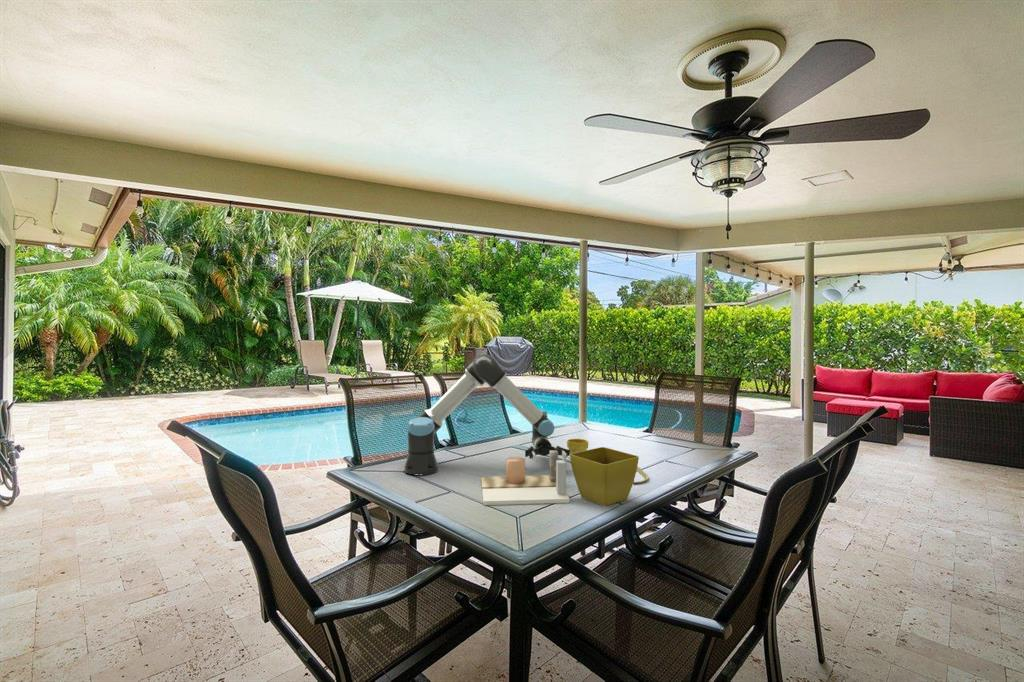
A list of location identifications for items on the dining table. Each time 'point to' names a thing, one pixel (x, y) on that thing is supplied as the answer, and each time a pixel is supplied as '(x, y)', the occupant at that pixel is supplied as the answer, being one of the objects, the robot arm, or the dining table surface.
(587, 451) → the flower pot
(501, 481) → the oak runner
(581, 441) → the plant pot
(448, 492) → the dining table surface
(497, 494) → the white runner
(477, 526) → the dining table surface
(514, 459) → the tan rounded cylinder
